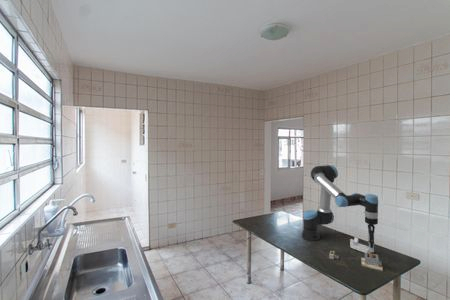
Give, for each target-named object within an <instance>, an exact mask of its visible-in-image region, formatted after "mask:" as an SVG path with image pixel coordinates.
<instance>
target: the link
mask: <svg viewBox="0 0 450 300" xmlns="http://www.w3.org/2000/svg"><path fill="white" fill-rule="evenodd" d="M369 254H373V255H374V258H370V257H369ZM364 258H365V265H369V266H374V267H379V261H380V260H379V255H378V254H374V253H372V252H371V253H364Z"/></svg>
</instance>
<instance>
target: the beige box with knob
mask: <svg viewBox="0 0 450 300" xmlns="http://www.w3.org/2000/svg"><path fill="white" fill-rule="evenodd" d="M335 253H336V251H334V250H333V251H332V250H330V251H329V254H328V257H329V259H331V260H334V259H335V258H334V255H336V254H335Z"/></svg>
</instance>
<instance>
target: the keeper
mask: <svg viewBox="0 0 450 300" xmlns="http://www.w3.org/2000/svg"><path fill="white" fill-rule="evenodd" d="M373 254H374V253H371V254H369V257H370V258H374V255H373ZM360 258H361V267H362V268H366V269H371V270H375V271H379V272H380V271H381V272H383V268H384V267H383V264H382V260H379V267H374V266H369V265H365V257H360Z"/></svg>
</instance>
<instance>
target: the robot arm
mask: <svg viewBox="0 0 450 300" xmlns="http://www.w3.org/2000/svg"><path fill="white" fill-rule="evenodd" d="M310 176H311V179H312V180H313V182H314V183H316V184H318V185H320V194H319V207H317V210H313V209H309V210H306V211H305V210H304V212H303V215H302V219H303V221H302V222H303V223H302V225H303V229H302V231H301V238H302V239H303V240H306V241H307V242H308V241H310V242H316V241H319V240H320V233H319V231H318V226H324V225H330V224H332V223H333V222H334V220H335V217H334V216H335V215H334V212H333V211H332V209H331V201H332V199H331V198H332V197H333V198H334V202H335V204H336V206H337V207H338V208H346V207H354V206H355V207H356V206H361V207H364V212H363V213H364V216H365V217H364V222H365V223H366V224H367V229H368V236H367V238H368V239H367V240H368V242H367V243H368V247H369V252H371V253H374V252H375V229H376V227H375V225H377V224H379V223H378V222H379V219H378V218H379V197H378V195H376V194H373V193H367V194H361V193H357V192H355V193H354V192H353V193H352V194H350V195H349V194H348V195H347V194H346V193H344V192H343V191H342V190H341V189H340V188H339V187H337V186H336V184H334V182H335V179H337V178H338V176H339V172H338V169H337V168H336V167H335V166H334V165H332V164H331V165H330V164H326V165H316V166H314V167H312V169H311V171H310Z"/></svg>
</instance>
